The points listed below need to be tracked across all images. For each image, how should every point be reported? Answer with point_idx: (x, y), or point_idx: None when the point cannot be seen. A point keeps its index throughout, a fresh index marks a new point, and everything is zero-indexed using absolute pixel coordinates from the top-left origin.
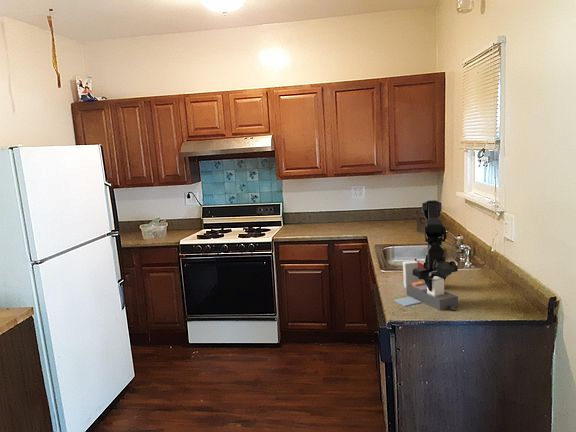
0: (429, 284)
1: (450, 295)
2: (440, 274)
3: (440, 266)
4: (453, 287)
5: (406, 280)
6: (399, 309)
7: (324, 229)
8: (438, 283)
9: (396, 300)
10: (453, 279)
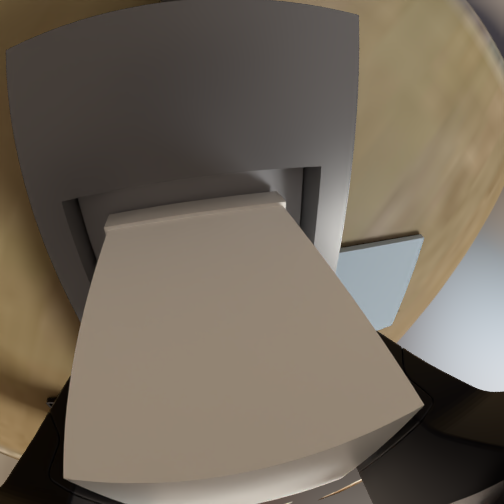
0: (398, 352)
1: (70, 109)
2: None
3: None
4: (2, 384)
5: None
6: (459, 206)
7: None
8: (253, 367)
9: (392, 314)
10: (5, 425)
